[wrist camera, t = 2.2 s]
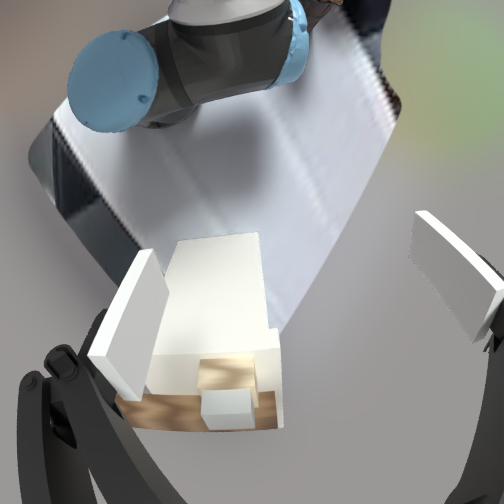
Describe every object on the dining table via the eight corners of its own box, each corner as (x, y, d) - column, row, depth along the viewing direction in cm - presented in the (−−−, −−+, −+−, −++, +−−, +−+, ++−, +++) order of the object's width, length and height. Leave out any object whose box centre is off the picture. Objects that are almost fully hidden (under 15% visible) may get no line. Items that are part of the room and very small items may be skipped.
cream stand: (195, 317, 67) (178, 430, 41) (172, 236, 56) (126, 354, 30) (270, 311, 66) (283, 427, 40) (262, 226, 55) (280, 347, 29)
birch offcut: (209, 383, 33) (207, 409, 29) (200, 359, 30) (196, 388, 27) (257, 380, 32) (258, 407, 29) (253, 355, 30) (254, 385, 26)
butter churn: (340, 28, 36) (429, -20, 12) (306, 58, 39) (377, 19, 15) (301, -5, 33) (357, -83, 8) (265, 25, 36) (292, -50, 12)
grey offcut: (210, 407, 29) (209, 429, 26) (202, 390, 27) (200, 414, 24) (254, 405, 29) (255, 428, 26) (250, 388, 27) (251, 412, 24)
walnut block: (101, 401, 37) (95, 421, 33) (89, 388, 35) (82, 408, 31) (275, 404, 36) (278, 428, 32) (274, 390, 34) (277, 416, 30)
